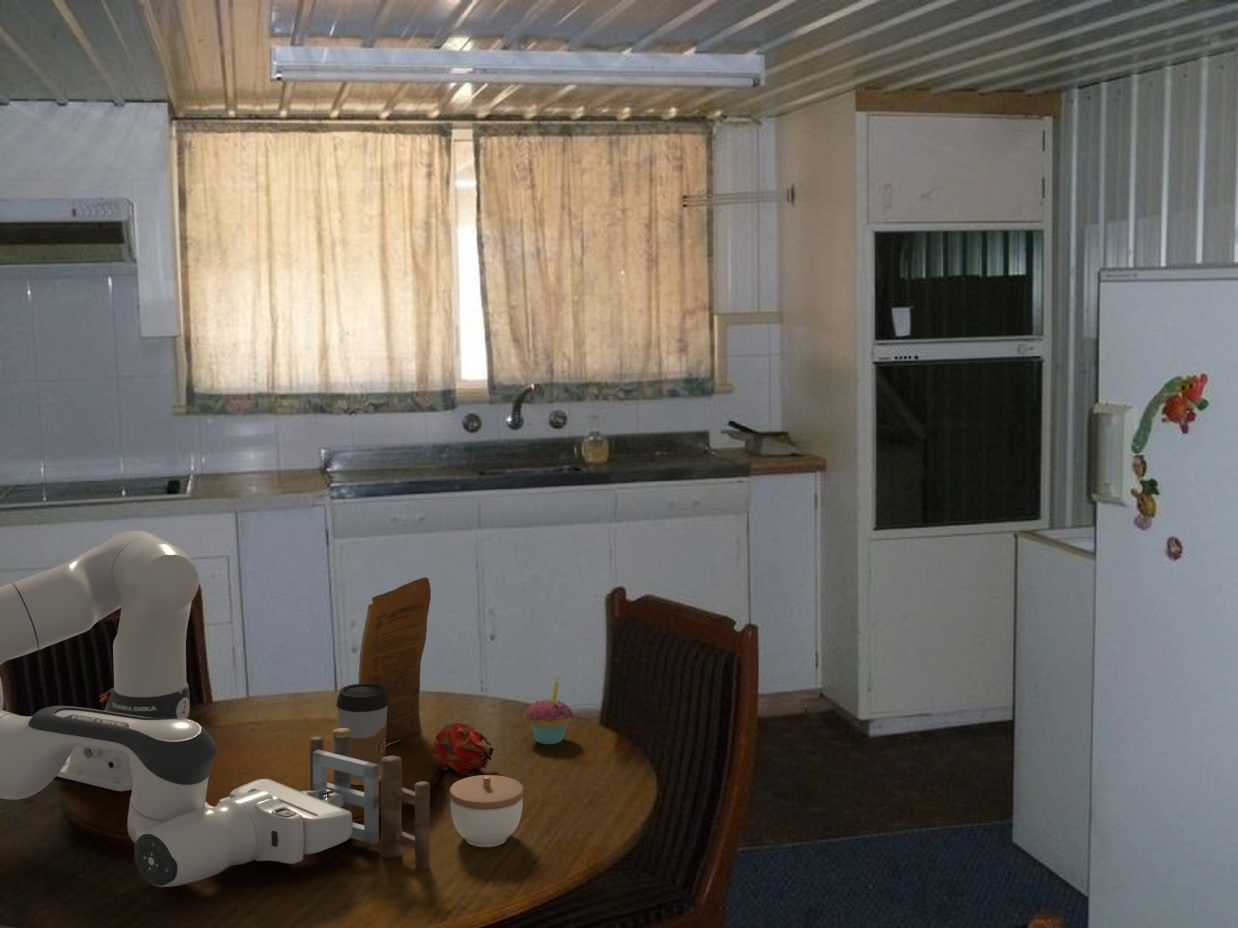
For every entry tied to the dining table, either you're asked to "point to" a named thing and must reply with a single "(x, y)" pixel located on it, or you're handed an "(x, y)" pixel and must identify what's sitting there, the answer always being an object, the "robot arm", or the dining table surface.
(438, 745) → the dragon fruit
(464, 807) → the lidded jar
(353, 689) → the coffee cup
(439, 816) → the dining table surface
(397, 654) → the pancake mix bag
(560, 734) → the cupcake
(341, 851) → the dining table surface
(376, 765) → the gate
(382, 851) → the fence
